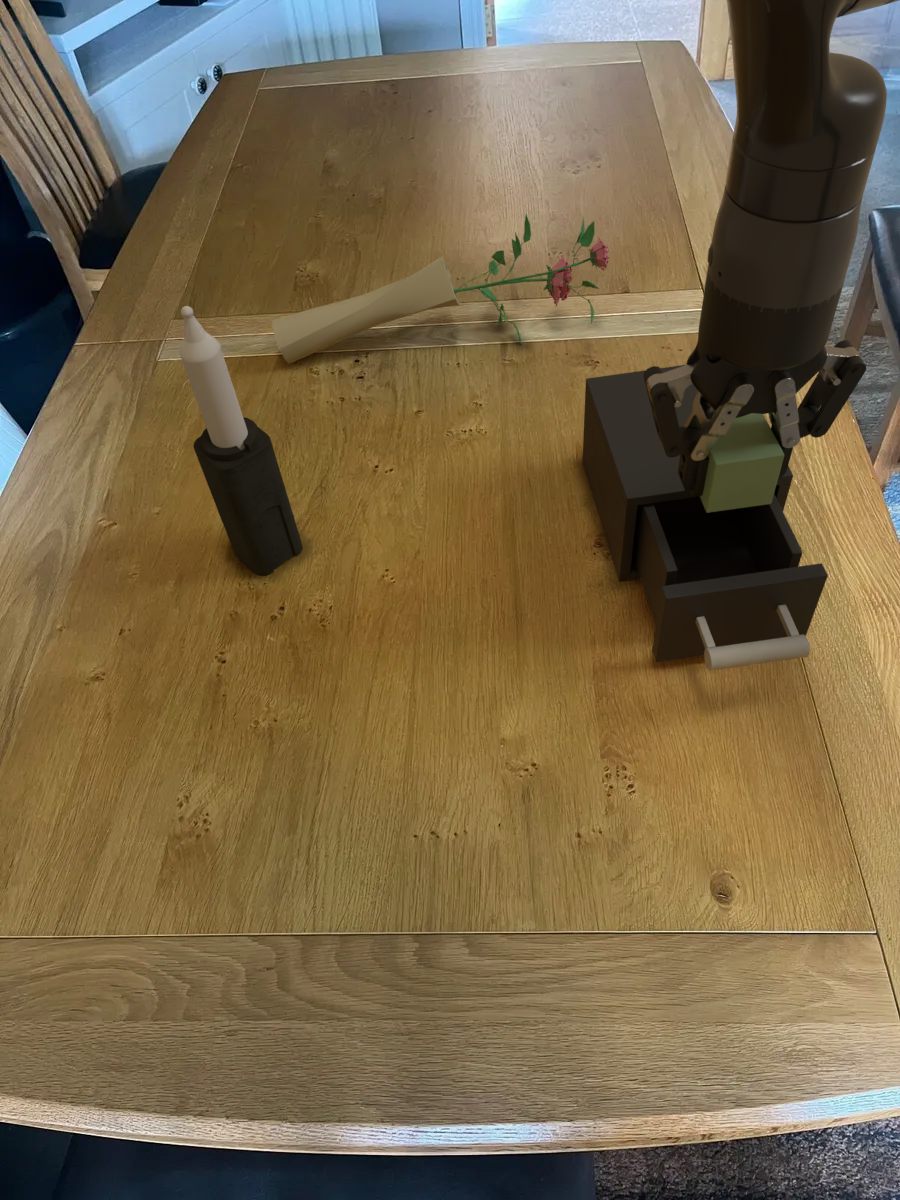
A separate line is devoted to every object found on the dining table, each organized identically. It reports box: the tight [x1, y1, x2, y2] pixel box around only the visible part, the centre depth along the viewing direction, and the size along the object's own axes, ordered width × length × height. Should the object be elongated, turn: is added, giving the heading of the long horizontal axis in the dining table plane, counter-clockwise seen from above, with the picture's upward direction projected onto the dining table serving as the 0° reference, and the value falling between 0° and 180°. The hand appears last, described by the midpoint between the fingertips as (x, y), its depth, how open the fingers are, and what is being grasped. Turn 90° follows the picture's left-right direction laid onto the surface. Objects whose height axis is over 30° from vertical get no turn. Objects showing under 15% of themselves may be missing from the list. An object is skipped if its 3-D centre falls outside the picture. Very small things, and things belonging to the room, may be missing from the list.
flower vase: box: [271, 214, 610, 365], centre depth 98 cm, size 12×12×35 cm
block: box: [700, 413, 784, 513], centre depth 65 cm, size 5×5×5 cm
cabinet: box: [581, 364, 794, 582], centre depth 79 cm, size 15×13×10 cm
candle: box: [179, 305, 303, 577], centre depth 74 cm, size 5×5×25 cm
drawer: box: [632, 494, 829, 672], centre depth 72 cm, size 18×12×8 cm, turn 7°
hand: (729, 482), depth 66 cm, fingers closed on block, 4 cm apart
